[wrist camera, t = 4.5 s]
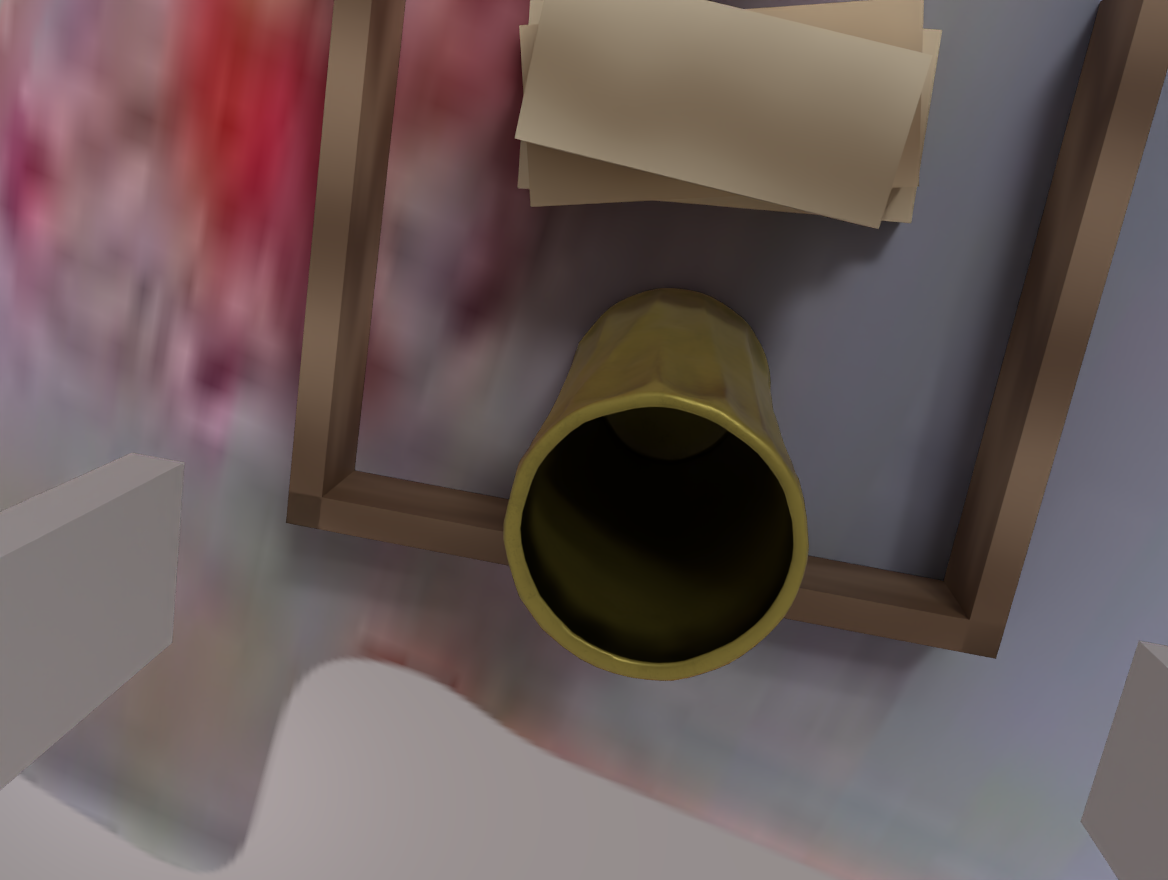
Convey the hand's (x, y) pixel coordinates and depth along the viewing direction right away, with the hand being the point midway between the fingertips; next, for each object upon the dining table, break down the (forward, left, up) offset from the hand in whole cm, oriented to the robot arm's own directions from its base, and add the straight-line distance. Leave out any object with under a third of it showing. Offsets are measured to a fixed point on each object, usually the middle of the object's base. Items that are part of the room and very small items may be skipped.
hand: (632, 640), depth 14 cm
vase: (0, 0, -18) cm, 18 cm away
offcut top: (-8, 0, -14) cm, 16 cm away
